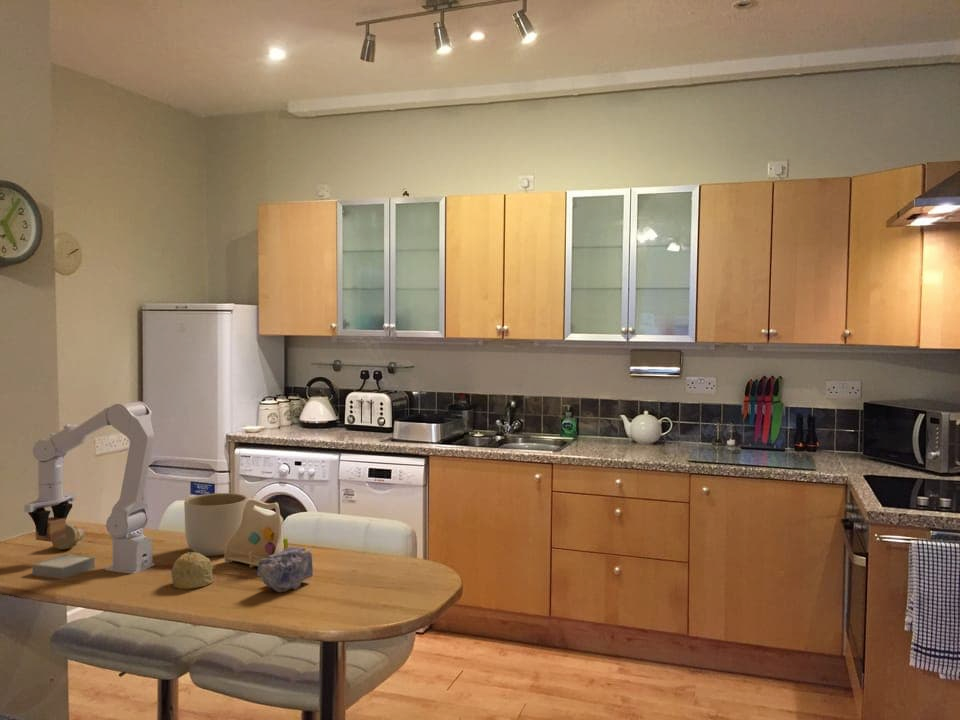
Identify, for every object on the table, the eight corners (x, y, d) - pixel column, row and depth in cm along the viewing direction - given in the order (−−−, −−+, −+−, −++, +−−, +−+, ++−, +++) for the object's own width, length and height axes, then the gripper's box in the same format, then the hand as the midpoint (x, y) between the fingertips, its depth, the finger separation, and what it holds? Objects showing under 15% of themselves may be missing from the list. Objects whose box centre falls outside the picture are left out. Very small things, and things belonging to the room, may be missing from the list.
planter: (210, 564, 203) (210, 508, 203) (171, 553, 213) (171, 500, 212) (259, 549, 218) (259, 497, 217) (221, 540, 227) (221, 490, 226)
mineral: (284, 580, 191) (284, 541, 191) (315, 585, 187) (315, 545, 187) (246, 598, 178) (246, 556, 178) (278, 604, 174) (278, 561, 174)
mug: (91, 539, 224) (90, 517, 218) (70, 564, 216) (68, 541, 210) (68, 531, 224) (66, 508, 219) (46, 555, 216) (44, 532, 210)
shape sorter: (303, 567, 202) (304, 502, 202) (274, 577, 193) (274, 509, 193) (253, 555, 213) (253, 493, 212) (223, 564, 204) (223, 499, 203)
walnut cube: (65, 536, 204) (65, 518, 203) (50, 541, 199) (50, 522, 199) (51, 535, 205) (51, 517, 205) (35, 539, 200) (35, 521, 200)
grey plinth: (94, 568, 198) (94, 557, 198) (63, 580, 189) (63, 568, 189) (64, 565, 201) (64, 554, 201) (32, 576, 192) (32, 564, 192)
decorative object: (186, 592, 190) (160, 565, 187) (219, 566, 193) (195, 538, 189) (188, 607, 181) (161, 578, 178) (223, 579, 184) (197, 550, 181)
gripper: (61, 477, 210) (61, 525, 210) (15, 486, 196) (15, 538, 196) (81, 478, 208) (81, 527, 208) (36, 488, 194) (36, 540, 194)
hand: (51, 532), depth 202 cm, fingers closed on walnut cube, 5 cm apart
